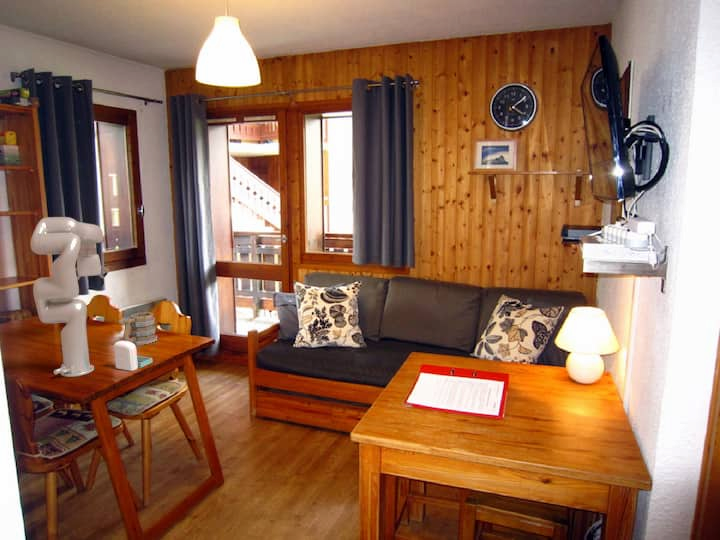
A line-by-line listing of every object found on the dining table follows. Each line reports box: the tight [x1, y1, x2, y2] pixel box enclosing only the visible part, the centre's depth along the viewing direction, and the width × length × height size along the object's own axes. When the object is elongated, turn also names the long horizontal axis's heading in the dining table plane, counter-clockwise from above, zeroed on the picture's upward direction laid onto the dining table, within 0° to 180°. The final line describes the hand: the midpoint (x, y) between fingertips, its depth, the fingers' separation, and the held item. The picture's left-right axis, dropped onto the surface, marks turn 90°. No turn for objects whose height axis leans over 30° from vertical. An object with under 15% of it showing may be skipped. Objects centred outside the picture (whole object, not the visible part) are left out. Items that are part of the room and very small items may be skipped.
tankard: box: [117, 311, 159, 346], centre depth 255 cm, size 20×13×15 cm, turn 152°
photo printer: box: [113, 340, 139, 372], centre depth 221 cm, size 10×4×12 cm, turn 66°
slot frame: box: [137, 355, 153, 369], centre depth 228 cm, size 7×13×2 cm, turn 70°
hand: (90, 287), depth 249 cm, fingers open, 9 cm apart
